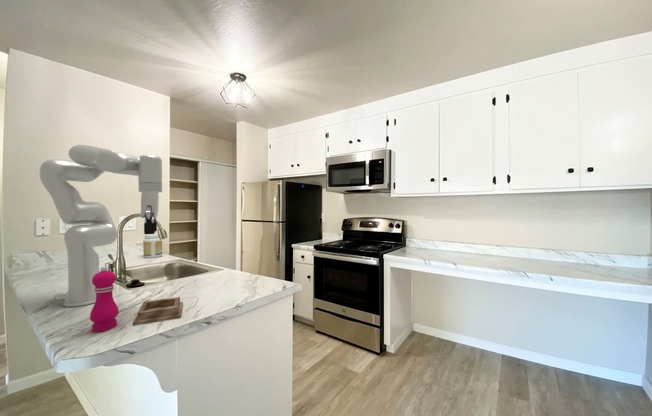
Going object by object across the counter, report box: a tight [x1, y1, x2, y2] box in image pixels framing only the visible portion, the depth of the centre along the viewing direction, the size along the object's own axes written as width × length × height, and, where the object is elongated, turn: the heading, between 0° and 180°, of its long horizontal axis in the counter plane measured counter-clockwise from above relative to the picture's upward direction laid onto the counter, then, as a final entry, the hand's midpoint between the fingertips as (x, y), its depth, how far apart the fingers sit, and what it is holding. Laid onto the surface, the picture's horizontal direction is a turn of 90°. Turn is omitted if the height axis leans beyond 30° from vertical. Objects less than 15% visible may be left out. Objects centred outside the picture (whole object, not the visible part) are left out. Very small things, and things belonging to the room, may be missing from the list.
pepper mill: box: [89, 265, 120, 333], centre depth 87 cm, size 7×7×20 cm
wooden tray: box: [132, 296, 184, 326], centre depth 98 cm, size 14×14×4 cm
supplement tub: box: [142, 233, 163, 259], centre depth 205 cm, size 12×12×17 cm
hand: (150, 232), depth 103 cm, fingers open, 9 cm apart
